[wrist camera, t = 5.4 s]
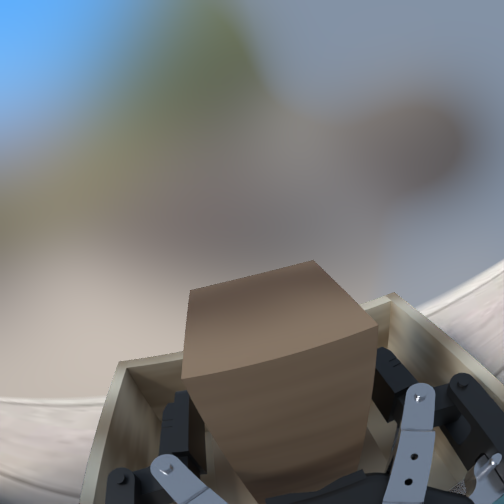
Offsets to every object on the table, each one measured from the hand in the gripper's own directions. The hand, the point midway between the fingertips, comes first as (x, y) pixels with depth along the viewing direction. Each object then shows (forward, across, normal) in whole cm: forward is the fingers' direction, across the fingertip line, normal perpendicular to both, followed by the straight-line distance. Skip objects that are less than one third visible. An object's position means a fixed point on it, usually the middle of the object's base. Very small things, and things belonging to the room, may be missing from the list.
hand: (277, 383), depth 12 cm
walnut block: (-2, 0, +7) cm, 7 cm away
